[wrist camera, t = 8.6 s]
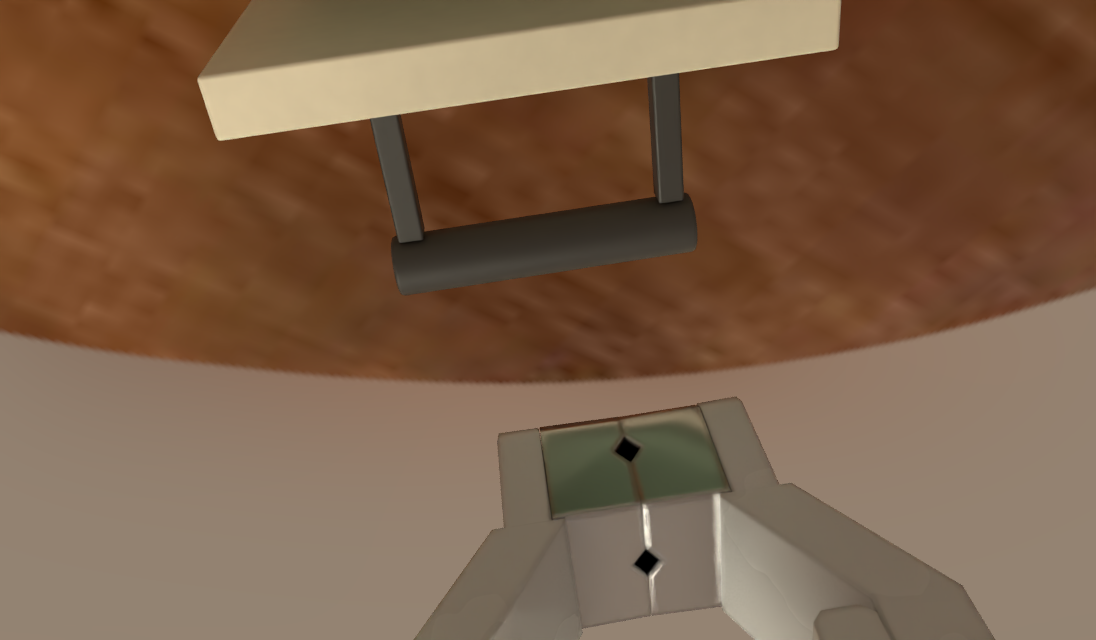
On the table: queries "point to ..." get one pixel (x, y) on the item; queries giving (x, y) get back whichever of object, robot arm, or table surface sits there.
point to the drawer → (491, 74)
